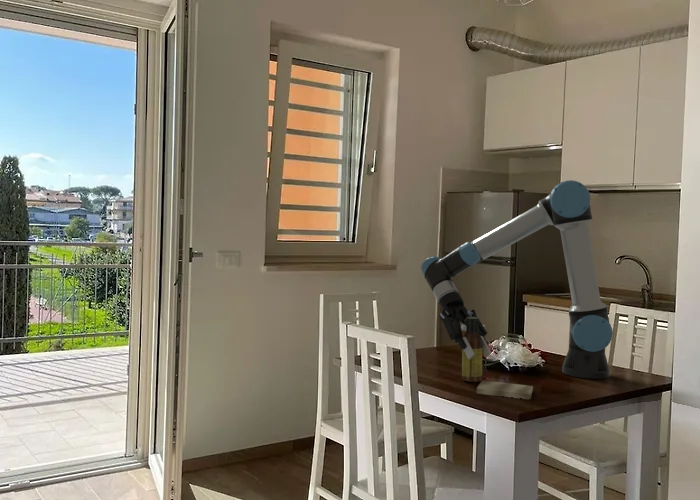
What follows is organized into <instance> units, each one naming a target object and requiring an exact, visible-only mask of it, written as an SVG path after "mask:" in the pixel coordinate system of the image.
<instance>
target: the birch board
mask: <svg viewBox="0 0 700 500" xmlns="http://www.w3.org/2000/svg"><path fill="white" fill-rule="evenodd" d="M533 391H534V386H533V385H528V384H527V385H525V384H517V383H509V382H508V383H507V382H499V381H490V380H489V381H487V380H481V381H480V382H479V384H478V386H477V387H476V395H477V394H478V395H487V396H495V397H503V396H504V398H511V397H513V399H520V398H522V400H529V399H530V400H531V399H532V396H533V395H532V394H533Z"/></svg>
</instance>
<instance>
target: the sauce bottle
mask: <svg viewBox="0 0 700 500" xmlns="http://www.w3.org/2000/svg"><path fill="white" fill-rule="evenodd" d="M465 320H466V323H467V329H466V333H465V335H464V336H463V337H466V339H467V341H468V342H469V344H470V346H471V348H472V350H473V352H474V354H475V355H474V356H473V357H472V358H471V359H468V358H467V356H466V354H465V352H464V350H463V349H462V348H461V352H462V353H461V355H462V356H461V360H462V361H461V377H462V381H464V382H469V383H481V381H483V378H482V377H483V353H482V338H481V336H480V334H479V330H478V328H479V327H478V324H479V320H480V317H478V316H477V317H466V319H465Z"/></svg>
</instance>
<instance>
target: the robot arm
mask: <svg viewBox="0 0 700 500" xmlns="http://www.w3.org/2000/svg"><path fill="white" fill-rule="evenodd" d="M589 191H590V190H589V189H588V187H586V185H584V184H583V183H581V182H580V181H577V180H571V179H570V180H565V181H562V182H561V181H560V182H559V183H557V184H556V185H555V186H554V187H553V189H552V190H551V192H550V193H549V194H548V195H547V196H545V197H543V198H541V199H540V200H538V203H537V205H535V206H533V207H531V208H529V209H528V210H527V211H524V212H523V213H521V214H519V215H518V216H516V217H513V218H512V219H510V220H508V221H506V222H505V223H503V224H501V225H500V226H498V227H496V228H494V229H492V230H490V231H489V232H488V233H487V232H486V233H484V234H483V235H481V236H480V237H478V238H476V239H474V240H473V241H471V242H470V241H467V242H465V243H463V244H461V245H459V247H457V248H455V249H453V250H452V251H451V252H450V253H448V254H447V255H445V256H444V257H441V258H440V257H438V256H431V257H427V258H426V259H425V260H423V262H422V263H421V266H420V270H421V272H422V274H423V277H424V279H425V281H426V282H427V284H428V286H429V288H430V290H431V291H432V293H433V296H434V297H435V299H436V301H437V303H438V304H439V307H440V309H441V312H440V313H439V315H438V317H439V318H440V320H441V321H442V324H443V325H444V327H445V330H446V333H447V334H448V336H449V339H450V341H454V343H455V344H459V347H460V349H461V350H462V349H463V350H464V352H465V354H466V356H467V358H468V359H471V358H472V357H473V356H474V355H475V354H474V352H473V350H472V348H471V346H470V344H469V342H468V341H467V339H466V337H463V335H462V330H461V325H462V324H463V325H465V326H466V327H467V323H466V317H478V316H477V313H476V311H475V309H471V310H468V309H467V308H466V307H465V305H464V299H463V298H462V296H461V294H460V293H459V289H457V287H456V284H455V283H454V282H453V278H455V277H456V276H458V275H459V274H461V273H463V272H464V271H466V270H468V269H470V268H473V267H474V266H475V265H477V264H479V263H481V262H483V261H484V260H486V259H488V258H489V257H491V256H493V255H495V254H497V253H499V252H501V251H503V250H504V249H506V248H509V246H512V245H513V244H516V243H517V242H519V241H521V240H523V239H525V238H526V237H529V236H530V235H532V234H534V233H536V232H537V231H539V230H541V229H544V228H545V227H547V226H554V227H555V228H556V229H558V230H559V232H560V237H561V244H562V250H563V255H564V261H565V267H566V274H567V279H568V286H569V291H570V297H571V305H570V307H569V308H568V316H569V333H568V335H569V336H568V337H569V338H568V349H567V353H566V356H565V358H564V360H563V363H562V367H561V369H562V370H561V372H562V373H563V374H564V375H567V376H570V377H576V378H582V379H592V380H599V379H600V380H603V379H608V378H610V375H611V372H610V371H611V370H610V366H609V362H608V360H607V359H608V358H607V356H606V349H607V347H608V346H609V345H610V344H611V342H612V340H613V337H614V336H613V335H614V334H613V333H614V332H613V328H612V326H611V323H610V319H609V317H610V316H609V312H608V306H607V304H605V303H604V302H602V300H601V296H600V289H599V282H598V277H597V270H596V264H595V259H594V253H593V247H592V241H591V235H590V228H589V226H590V224H591V223H592V221H593V215H592V210H591V193H590V192H589ZM483 325H484V324H482V322H481V320H480V319H479V324H478V327H479V328H478V330H479V334H480V336H481V338H482V356H484V358H485V359H487V358H489V357H490V355H491V354H492V350H491V349H490V347H489V344H488V342H487V340H486V338H485V337H486V336H487V334H488V331H487V329H486V330H485V328H486V327H485V328H484V327H483ZM462 337H463V338H462Z"/></svg>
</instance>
